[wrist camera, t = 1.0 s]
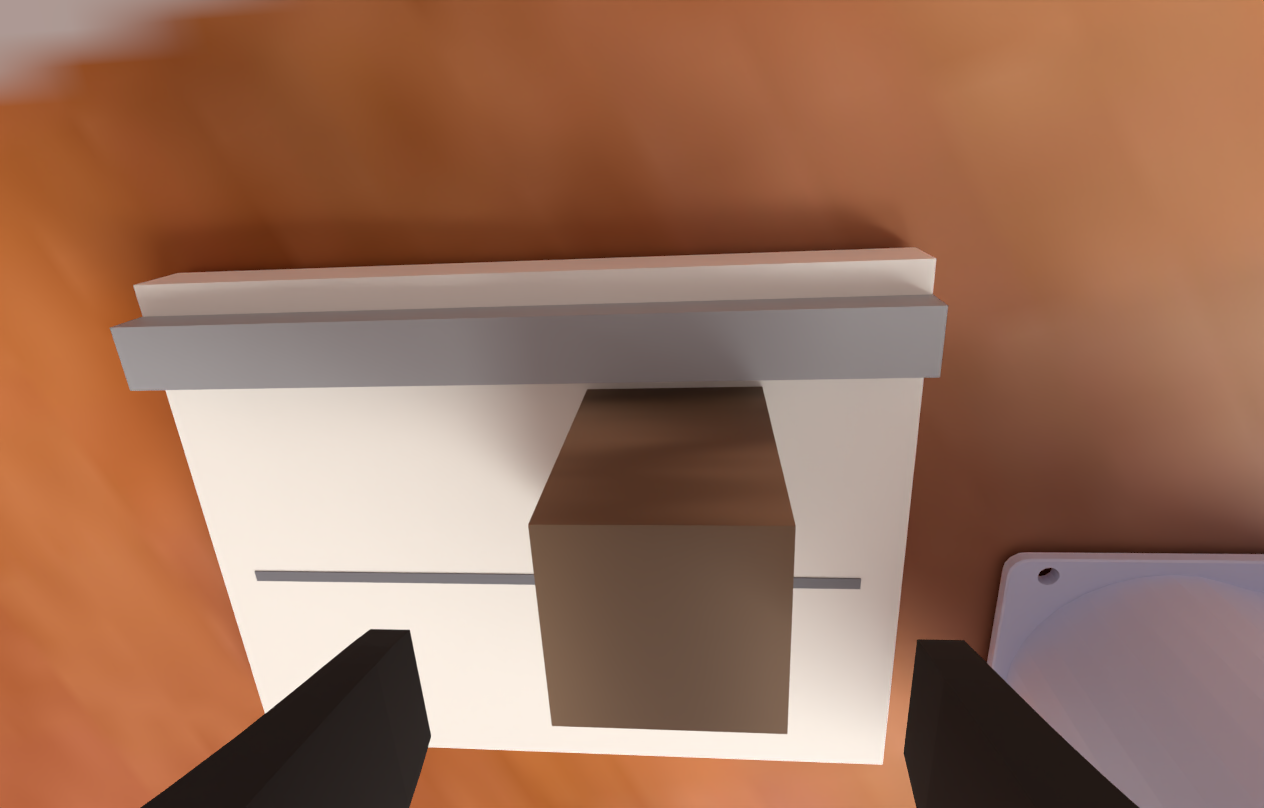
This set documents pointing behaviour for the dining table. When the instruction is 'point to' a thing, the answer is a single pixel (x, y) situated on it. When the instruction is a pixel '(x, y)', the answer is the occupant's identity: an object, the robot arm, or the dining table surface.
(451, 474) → the board
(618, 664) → the block
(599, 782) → the dining table surface
